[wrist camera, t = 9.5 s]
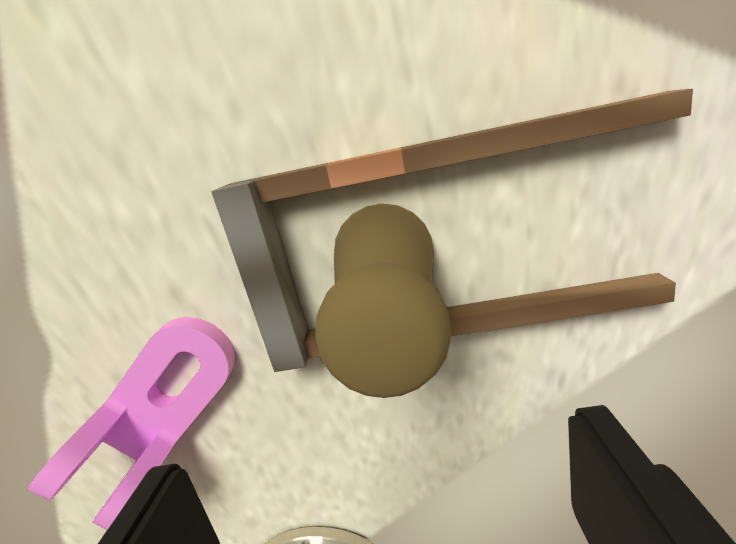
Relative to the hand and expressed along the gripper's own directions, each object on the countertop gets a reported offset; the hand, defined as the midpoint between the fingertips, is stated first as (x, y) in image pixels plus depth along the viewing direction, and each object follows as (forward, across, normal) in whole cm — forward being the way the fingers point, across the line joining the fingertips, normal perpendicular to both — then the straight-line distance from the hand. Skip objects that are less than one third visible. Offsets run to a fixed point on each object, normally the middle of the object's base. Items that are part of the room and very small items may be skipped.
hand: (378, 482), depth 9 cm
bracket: (+16, +17, +6) cm, 24 cm away
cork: (+16, 0, -1) cm, 16 cm away
